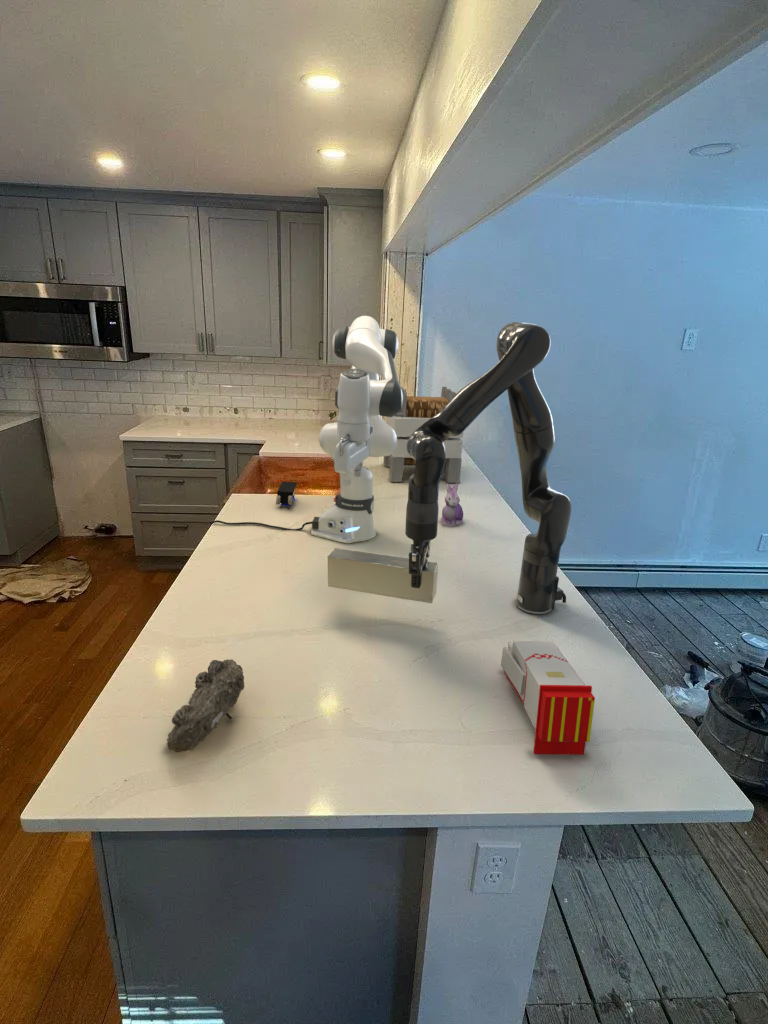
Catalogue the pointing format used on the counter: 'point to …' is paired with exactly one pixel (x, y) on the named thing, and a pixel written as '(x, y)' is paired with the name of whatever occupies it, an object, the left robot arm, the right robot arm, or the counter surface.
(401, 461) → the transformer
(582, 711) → the toy
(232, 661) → the fossil
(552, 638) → the counter surface
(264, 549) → the counter surface
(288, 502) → the figurine character
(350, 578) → the bar
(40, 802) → the counter surface
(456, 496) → the figurine
